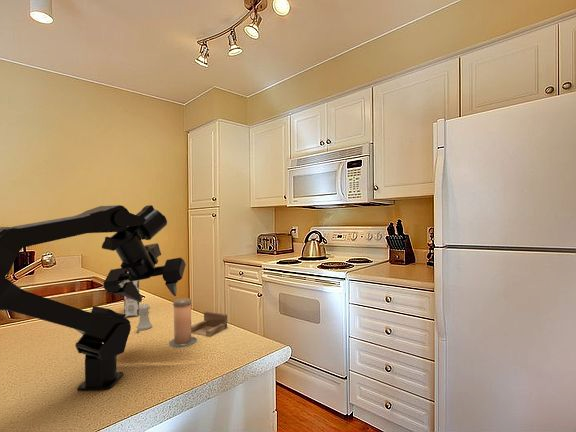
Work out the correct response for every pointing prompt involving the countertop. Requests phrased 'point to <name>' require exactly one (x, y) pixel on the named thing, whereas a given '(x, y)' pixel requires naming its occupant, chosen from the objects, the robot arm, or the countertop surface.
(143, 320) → the rook chess piece
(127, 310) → the candy bar box
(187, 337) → the spice jar
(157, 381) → the countertop surface
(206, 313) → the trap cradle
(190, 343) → the slate coaster
